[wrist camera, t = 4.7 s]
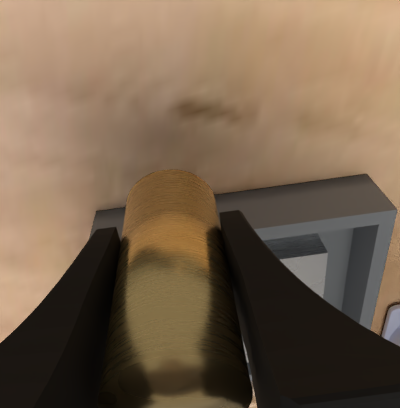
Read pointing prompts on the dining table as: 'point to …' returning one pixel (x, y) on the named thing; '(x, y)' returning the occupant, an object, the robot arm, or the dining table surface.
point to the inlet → (302, 260)
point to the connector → (173, 304)
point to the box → (323, 225)
